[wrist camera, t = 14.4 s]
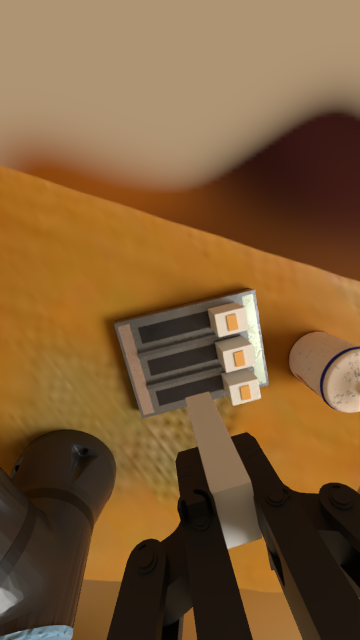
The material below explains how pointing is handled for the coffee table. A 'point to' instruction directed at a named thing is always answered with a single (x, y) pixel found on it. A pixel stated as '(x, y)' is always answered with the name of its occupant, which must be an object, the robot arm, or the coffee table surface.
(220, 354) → the breaker
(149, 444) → the coffee table surface
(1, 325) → the coffee table surface
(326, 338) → the teacup with lid
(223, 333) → the breaker
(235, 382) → the breaker
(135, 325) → the panel
